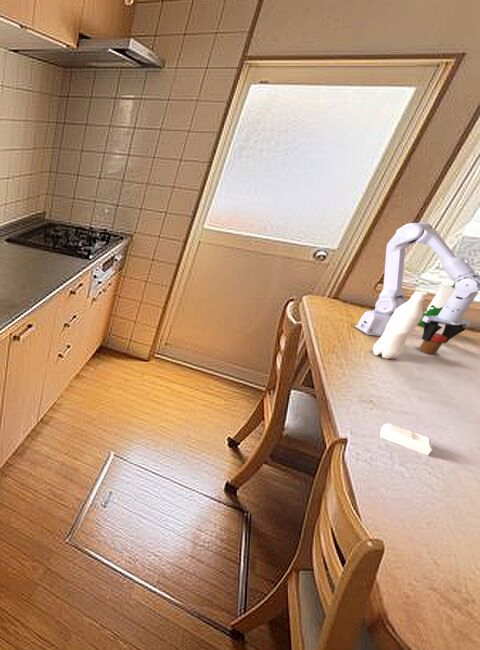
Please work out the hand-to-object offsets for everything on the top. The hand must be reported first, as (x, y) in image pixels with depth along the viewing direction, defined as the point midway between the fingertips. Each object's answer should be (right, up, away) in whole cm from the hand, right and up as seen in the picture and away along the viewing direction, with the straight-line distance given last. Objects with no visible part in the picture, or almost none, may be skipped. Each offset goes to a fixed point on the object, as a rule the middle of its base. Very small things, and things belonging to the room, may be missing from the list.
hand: (433, 341), depth 158 cm
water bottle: (-23, -5, -4) cm, 24 cm away
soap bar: (-63, -26, -49) cm, 84 cm away
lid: (0, +2, -1) cm, 2 cm away
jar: (0, -4, +2) cm, 4 cm away
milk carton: (+27, +6, +25) cm, 37 cm away
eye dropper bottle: (+15, +1, +13) cm, 20 cm away
